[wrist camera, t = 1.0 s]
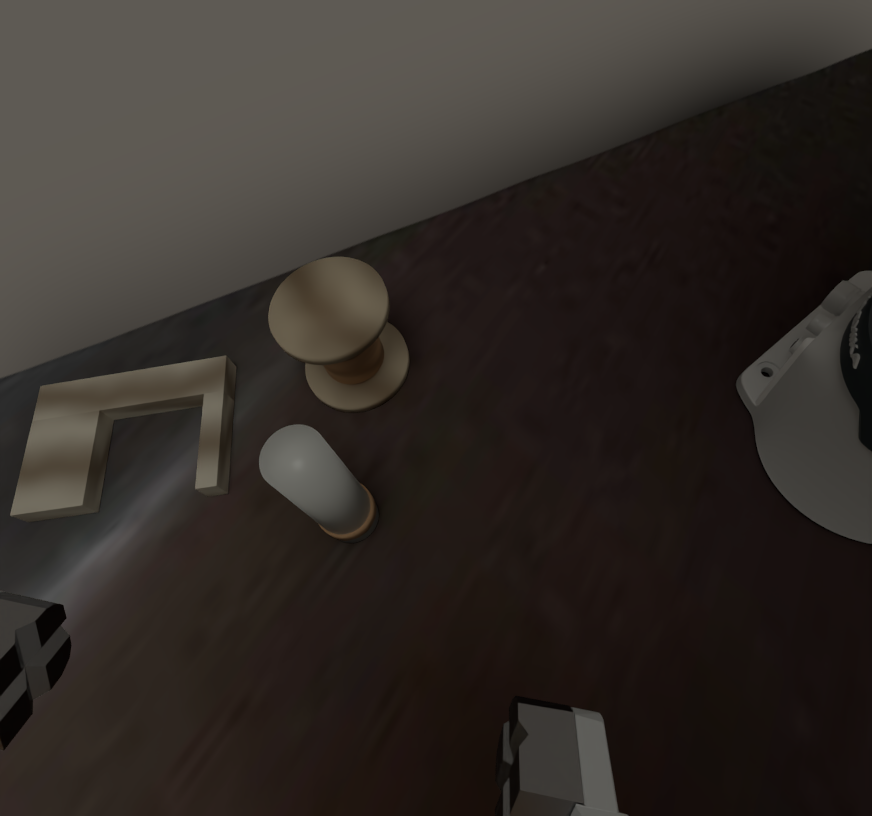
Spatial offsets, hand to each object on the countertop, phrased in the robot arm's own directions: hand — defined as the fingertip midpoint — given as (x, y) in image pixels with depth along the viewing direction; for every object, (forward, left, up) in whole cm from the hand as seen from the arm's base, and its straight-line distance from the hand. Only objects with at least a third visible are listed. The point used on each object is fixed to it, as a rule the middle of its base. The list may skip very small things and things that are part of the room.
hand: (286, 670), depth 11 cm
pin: (-4, -14, -32) cm, 35 cm away
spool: (-14, -23, -32) cm, 42 cm away
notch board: (+4, -34, -32) cm, 47 cm away
